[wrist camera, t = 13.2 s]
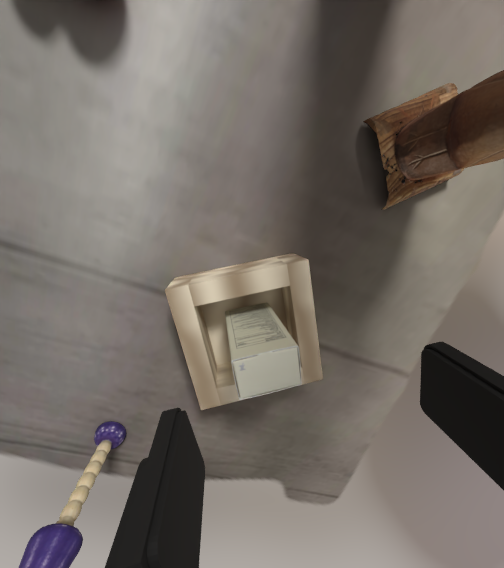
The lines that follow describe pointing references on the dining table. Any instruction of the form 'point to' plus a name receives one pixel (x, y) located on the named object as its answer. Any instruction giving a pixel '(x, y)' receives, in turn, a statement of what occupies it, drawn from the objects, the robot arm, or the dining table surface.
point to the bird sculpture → (440, 136)
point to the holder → (235, 294)
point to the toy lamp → (71, 510)
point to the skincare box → (261, 351)
